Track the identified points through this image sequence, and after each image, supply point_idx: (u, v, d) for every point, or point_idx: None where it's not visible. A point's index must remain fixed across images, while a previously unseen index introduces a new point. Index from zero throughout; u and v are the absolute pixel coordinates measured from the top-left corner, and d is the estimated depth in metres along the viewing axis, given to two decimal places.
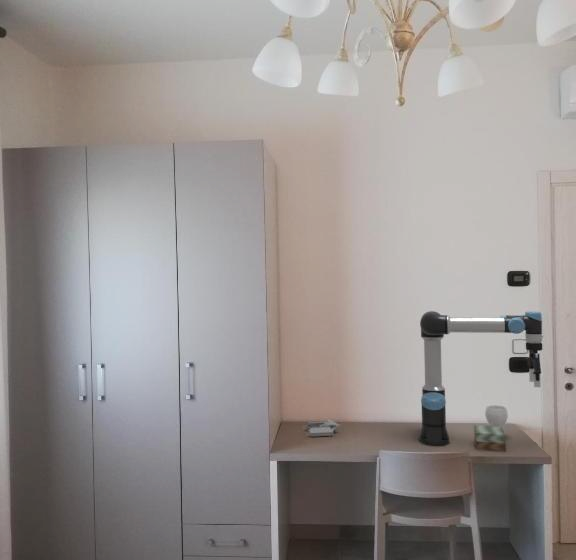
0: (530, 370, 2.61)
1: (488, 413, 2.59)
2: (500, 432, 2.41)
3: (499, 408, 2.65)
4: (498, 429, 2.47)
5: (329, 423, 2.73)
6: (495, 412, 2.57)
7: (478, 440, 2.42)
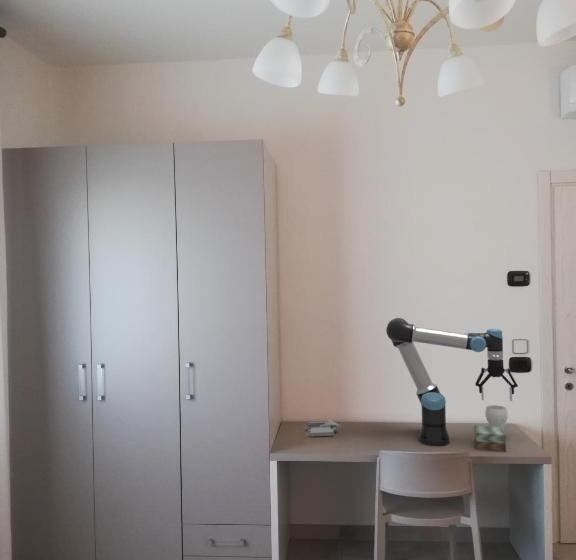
0: (509, 388, 2.60)
1: (488, 413, 2.59)
2: (500, 432, 2.41)
3: (499, 408, 2.65)
4: (498, 429, 2.47)
5: (329, 423, 2.73)
6: (495, 412, 2.57)
7: (478, 440, 2.42)
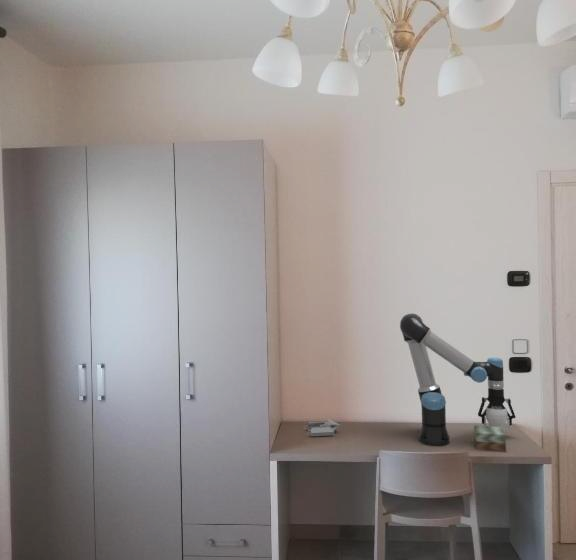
0: (507, 419, 2.61)
1: (488, 413, 2.59)
2: (500, 432, 2.41)
3: (499, 408, 2.65)
4: (498, 429, 2.47)
5: (330, 423, 2.73)
6: (495, 412, 2.57)
7: (478, 440, 2.42)
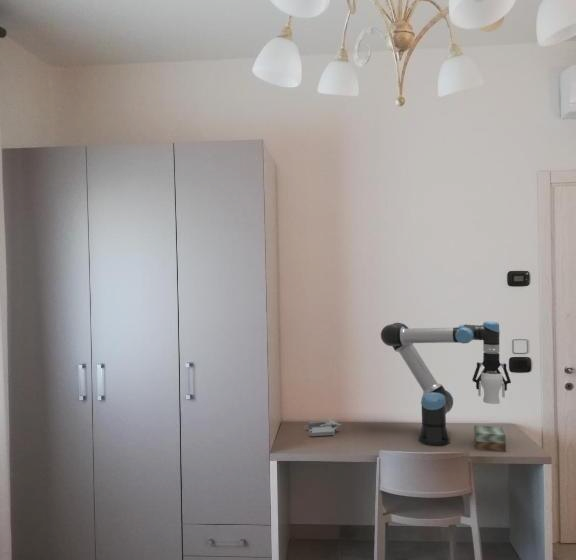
0: (502, 385, 2.54)
1: (483, 378, 2.52)
2: (500, 432, 2.41)
3: (494, 373, 2.58)
4: (498, 429, 2.47)
5: (330, 423, 2.73)
6: (491, 377, 2.50)
7: (478, 440, 2.42)
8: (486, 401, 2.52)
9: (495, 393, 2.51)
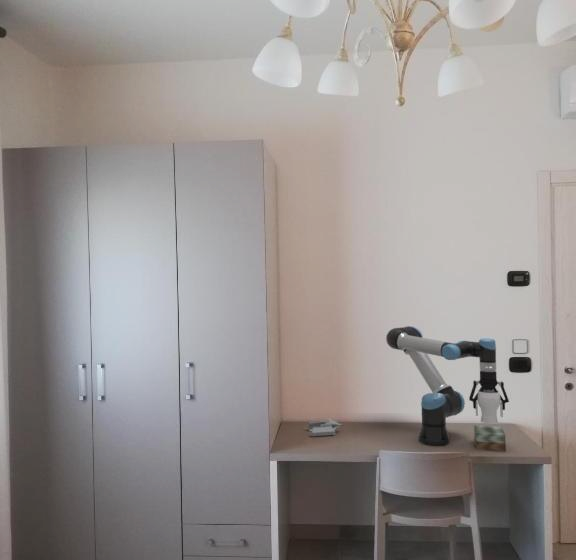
0: (500, 404, 2.46)
1: (480, 397, 2.44)
2: (500, 432, 2.41)
3: (492, 392, 2.50)
4: (498, 429, 2.47)
5: (330, 422, 2.74)
6: (487, 396, 2.42)
7: (478, 440, 2.42)
8: (483, 421, 2.44)
9: (492, 412, 2.43)
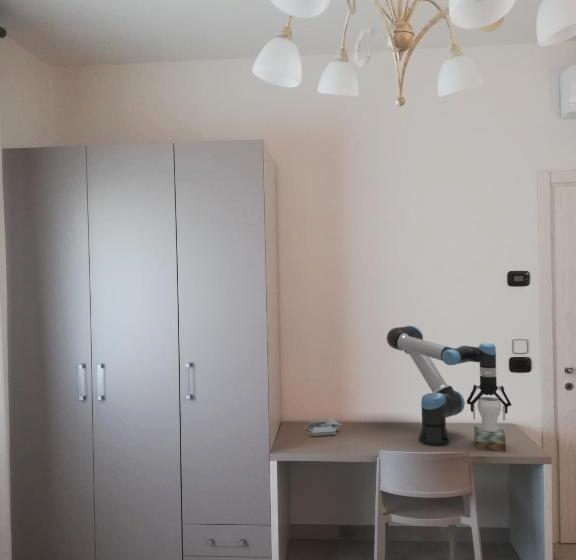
0: None
1: (480, 405, 2.44)
2: (500, 432, 2.41)
3: (492, 400, 2.50)
4: (498, 429, 2.47)
5: (331, 422, 2.74)
6: (488, 404, 2.42)
7: (478, 440, 2.42)
8: (484, 429, 2.45)
9: (493, 420, 2.43)
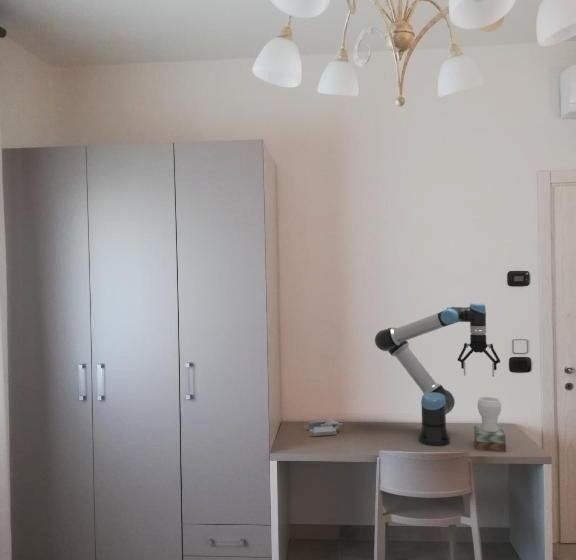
0: (492, 364, 2.55)
1: (480, 405, 2.44)
2: (500, 432, 2.41)
3: (492, 400, 2.50)
4: (498, 429, 2.47)
5: (331, 422, 2.74)
6: (488, 404, 2.42)
7: (478, 440, 2.42)
8: (484, 429, 2.45)
9: (493, 420, 2.43)
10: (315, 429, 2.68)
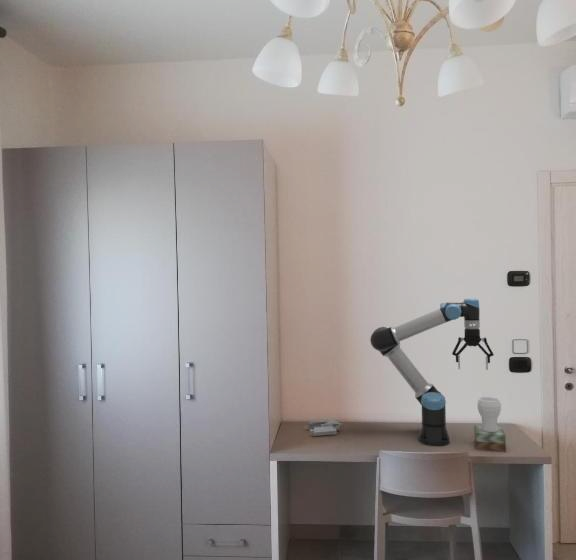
0: None
1: (480, 405, 2.44)
2: (500, 432, 2.41)
3: (492, 400, 2.50)
4: (498, 429, 2.47)
5: (331, 422, 2.75)
6: (487, 404, 2.42)
7: (478, 440, 2.42)
8: (484, 429, 2.45)
9: (493, 420, 2.43)
10: (315, 429, 2.68)
